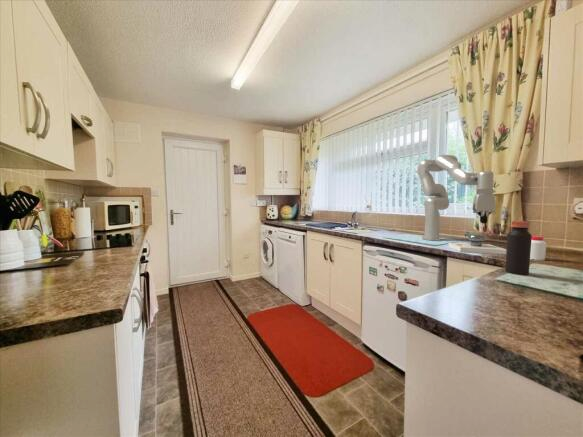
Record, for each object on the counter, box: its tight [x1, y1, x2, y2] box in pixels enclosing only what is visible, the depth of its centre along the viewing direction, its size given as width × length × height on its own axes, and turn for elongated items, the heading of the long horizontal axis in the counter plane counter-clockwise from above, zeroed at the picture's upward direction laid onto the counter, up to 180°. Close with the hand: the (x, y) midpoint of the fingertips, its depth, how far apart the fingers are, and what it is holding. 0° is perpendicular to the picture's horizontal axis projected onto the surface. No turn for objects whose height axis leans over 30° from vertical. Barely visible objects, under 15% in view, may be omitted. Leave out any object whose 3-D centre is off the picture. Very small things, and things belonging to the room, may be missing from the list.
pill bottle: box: [530, 235, 547, 261], centre depth 118 cm, size 8×8×11 cm
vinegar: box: [504, 220, 533, 276], centre depth 93 cm, size 7×7×20 cm
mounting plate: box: [448, 242, 507, 255], centre depth 139 cm, size 17×22×3 cm
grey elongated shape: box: [464, 231, 486, 246], centre depth 143 cm, size 17×8×6 cm, turn 165°
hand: (483, 223), depth 144 cm, fingers closed
